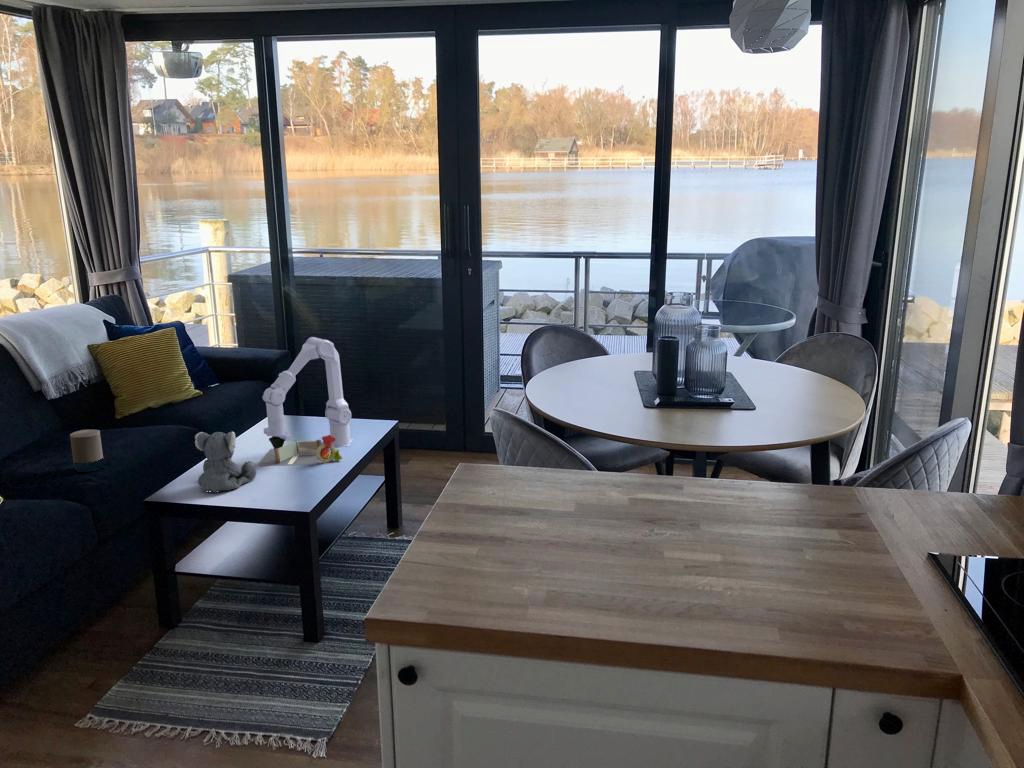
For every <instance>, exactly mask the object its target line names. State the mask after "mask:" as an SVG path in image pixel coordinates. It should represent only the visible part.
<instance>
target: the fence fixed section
mask: <svg viewBox="0 0 1024 768" xmlns="http://www.w3.org/2000/svg"><path fill="white" fill-rule="evenodd" d="M321 444H322V439H316V440H300V441H298V448H299V454H316V451H317V448H318V447H319V446H320V445H321Z"/></svg>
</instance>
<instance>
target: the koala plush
mask: <svg viewBox="0 0 1024 768" xmlns="http://www.w3.org/2000/svg"><path fill="white" fill-rule="evenodd" d="M194 439H195V441H194V443H195V447H196V449H197V450H200V451H201V452H204V455H205V457H206V459H205V460H204V461H203V465H202V470H203V473H201V474H200V475H199V477H198V481H197V484H198V485H199V486H200V487H201V488H202V489H203V491H204V492H206V491H208V492H207V493H212V492H215V493H216V492H217V491H219V492H222V490H223V491H225V490H228V491H229V490H230V491H231V489H233V490H236V489H235V488H237V489H239V488H240V487H241V486H242V484H243V485H245V483H246V484H248V483H251V481H253V480H254V479H255V478H256V476H257V469H256V466H255V462H254V461H252V460H248V461H245V462H244V463H243V464H242V465H241V467H240V466H239V465H238V464H237V463H236V462H235V461H233V460H232V458H233V455H234V452H235V449H237V447H236V441H237V439H236V433H235V432H234V431H230V432H227V433H225V432H221V431H215V432H213V433H210V434H208V433H207V432H203V431H200V432H198V433H196V434H195V435H194ZM247 482H248V483H247ZM209 491H211V492H209ZM217 493H218V492H217Z"/></svg>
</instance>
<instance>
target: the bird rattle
mask: <svg viewBox="0 0 1024 768" xmlns="http://www.w3.org/2000/svg"><path fill="white" fill-rule="evenodd" d="M335 440H336V439H335V438H333V437H332V436H331V435H330V434H328V435H323V436H322V437H321V441H323V443H321V445H320V446H319V447H318V448H317V451H316V456H317V458H318V459H319V462H321V464H326V463H329V462H332V460H334V461H335V462H339V461H340V460H342V459H343V457H342V455H340V449H336V447H334V446H333V445H332V444H331V443H333V442H334V441H335ZM323 448H324V449H323Z"/></svg>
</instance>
